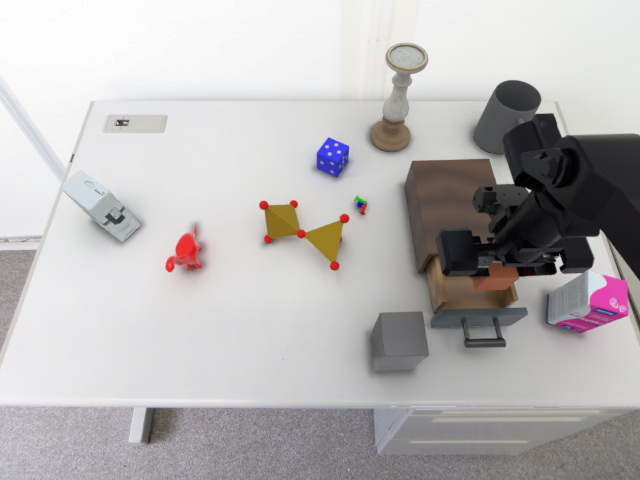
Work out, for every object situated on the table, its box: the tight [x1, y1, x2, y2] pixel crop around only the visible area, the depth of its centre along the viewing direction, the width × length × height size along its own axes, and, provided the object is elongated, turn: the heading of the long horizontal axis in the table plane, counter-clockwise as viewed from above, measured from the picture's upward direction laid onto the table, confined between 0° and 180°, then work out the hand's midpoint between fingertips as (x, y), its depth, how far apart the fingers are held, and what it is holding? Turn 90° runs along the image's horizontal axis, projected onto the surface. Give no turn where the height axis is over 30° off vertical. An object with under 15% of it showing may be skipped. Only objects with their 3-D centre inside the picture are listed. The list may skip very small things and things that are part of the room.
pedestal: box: [370, 311, 430, 372], centre depth 57 cm, size 6×6×12 cm
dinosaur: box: [164, 224, 203, 273], centre depth 65 cm, size 4×15×12 cm, turn 8°
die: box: [316, 137, 350, 178], centre depth 79 cm, size 5×5×5 cm
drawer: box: [426, 256, 529, 349], centre depth 64 cm, size 23×13×6 cm, turn 1°
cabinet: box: [403, 158, 498, 274], centre depth 70 cm, size 20×15×8 cm
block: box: [472, 262, 520, 291], centre depth 55 cm, size 5×5×5 cm
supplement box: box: [545, 270, 629, 334], centre depth 60 cm, size 6×6×12 cm
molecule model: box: [258, 194, 368, 272], centre depth 69 cm, size 16×18×12 cm
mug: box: [473, 79, 542, 154], centre depth 77 cm, size 14×9×12 cm
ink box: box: [58, 169, 141, 243], centre depth 69 cm, size 9×5×12 cm, turn 54°
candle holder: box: [370, 42, 429, 152], centre depth 75 cm, size 9×9×20 cm
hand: (487, 275), depth 56 cm, fingers closed on block, 4 cm apart
